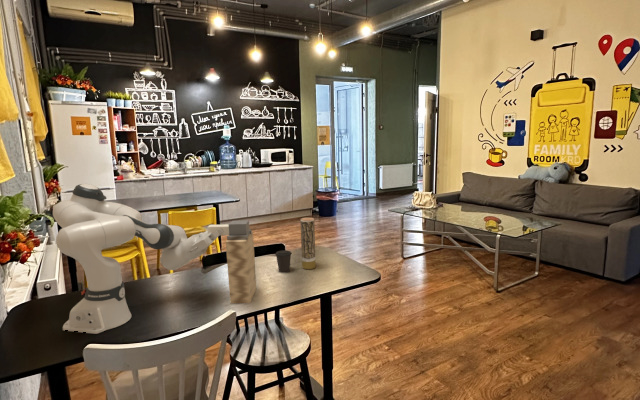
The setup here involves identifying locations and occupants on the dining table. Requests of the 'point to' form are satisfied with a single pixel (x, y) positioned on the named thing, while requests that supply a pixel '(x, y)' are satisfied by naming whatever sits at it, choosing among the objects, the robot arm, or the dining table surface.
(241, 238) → the beige zigzag patterned box
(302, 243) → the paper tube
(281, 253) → the coffee cup
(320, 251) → the dining table surface
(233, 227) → the hammer
